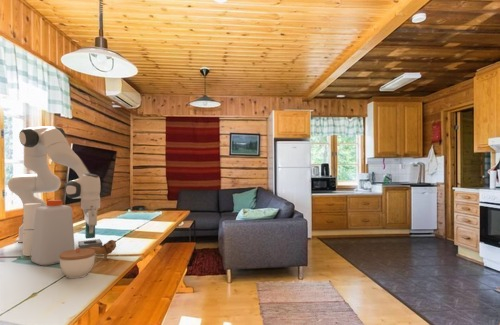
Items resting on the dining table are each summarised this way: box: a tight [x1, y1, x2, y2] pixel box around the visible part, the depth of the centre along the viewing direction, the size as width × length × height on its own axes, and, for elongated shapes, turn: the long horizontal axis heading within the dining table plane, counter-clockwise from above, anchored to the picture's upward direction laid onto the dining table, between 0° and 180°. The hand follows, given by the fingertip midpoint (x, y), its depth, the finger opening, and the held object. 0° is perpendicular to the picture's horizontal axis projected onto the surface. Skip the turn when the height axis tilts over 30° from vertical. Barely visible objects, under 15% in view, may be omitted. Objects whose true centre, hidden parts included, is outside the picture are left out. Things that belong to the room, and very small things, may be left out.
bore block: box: [77, 238, 103, 249], centre depth 156 cm, size 10×10×5 cm
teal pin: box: [84, 221, 96, 240], centre depth 156 cm, size 4×4×8 cm
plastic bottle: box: [30, 199, 76, 266], centre depth 142 cm, size 15×15×28 cm
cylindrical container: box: [22, 203, 41, 256], centre depth 152 cm, size 7×7×25 cm
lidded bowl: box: [59, 247, 96, 279], centre depth 122 cm, size 13×13×11 cm
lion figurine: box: [88, 239, 117, 262], centre depth 141 cm, size 15×5×9 cm, turn 120°
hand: (90, 232), depth 156 cm, fingers closed on teal pin, 4 cm apart
